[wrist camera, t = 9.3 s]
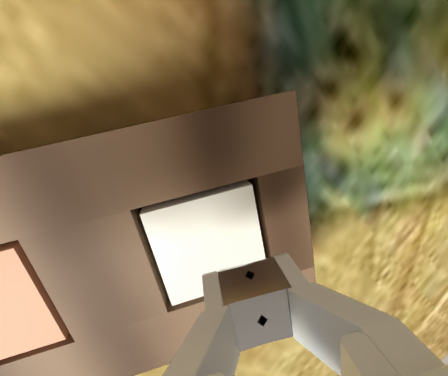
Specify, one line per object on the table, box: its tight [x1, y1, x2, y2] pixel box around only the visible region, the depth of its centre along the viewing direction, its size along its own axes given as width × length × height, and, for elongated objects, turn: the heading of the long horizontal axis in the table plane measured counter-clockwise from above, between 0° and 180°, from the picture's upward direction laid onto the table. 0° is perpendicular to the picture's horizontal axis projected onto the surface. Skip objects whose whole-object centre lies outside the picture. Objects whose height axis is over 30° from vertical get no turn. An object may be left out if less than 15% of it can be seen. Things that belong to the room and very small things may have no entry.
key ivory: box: [140, 180, 266, 306], centre depth 13 cm, size 5×5×3 cm
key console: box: [0, 90, 316, 376], centre depth 13 cm, size 20×12×4 cm, turn 103°
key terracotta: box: [0, 240, 69, 360], centre depth 12 cm, size 5×5×3 cm
